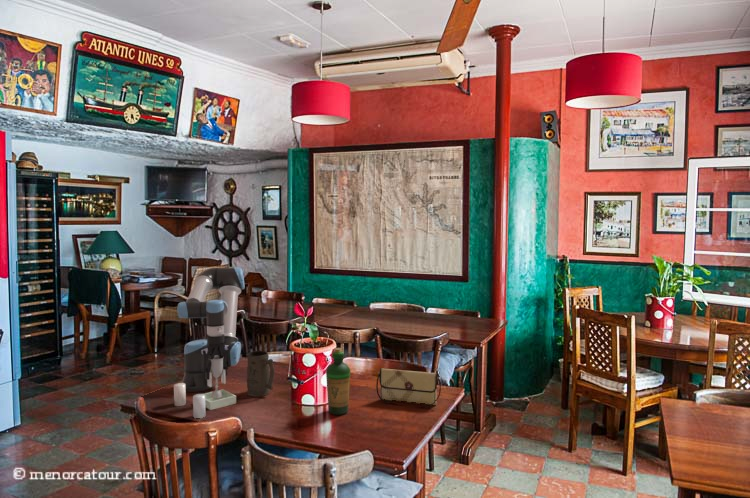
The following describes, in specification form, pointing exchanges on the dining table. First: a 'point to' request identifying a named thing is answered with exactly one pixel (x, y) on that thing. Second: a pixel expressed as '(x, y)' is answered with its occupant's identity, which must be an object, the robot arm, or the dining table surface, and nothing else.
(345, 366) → the bottle
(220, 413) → the dining table surface
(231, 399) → the tray
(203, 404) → the pillar candle
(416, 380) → the clutch purse
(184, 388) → the white upright cylinder
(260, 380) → the beer stein
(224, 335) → the robot arm
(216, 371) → the chalice
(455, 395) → the dining table surface
